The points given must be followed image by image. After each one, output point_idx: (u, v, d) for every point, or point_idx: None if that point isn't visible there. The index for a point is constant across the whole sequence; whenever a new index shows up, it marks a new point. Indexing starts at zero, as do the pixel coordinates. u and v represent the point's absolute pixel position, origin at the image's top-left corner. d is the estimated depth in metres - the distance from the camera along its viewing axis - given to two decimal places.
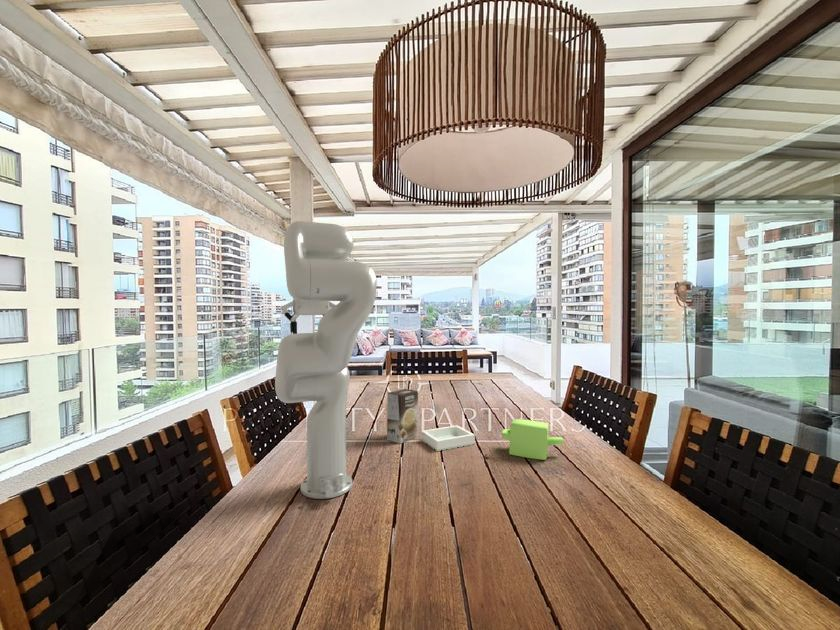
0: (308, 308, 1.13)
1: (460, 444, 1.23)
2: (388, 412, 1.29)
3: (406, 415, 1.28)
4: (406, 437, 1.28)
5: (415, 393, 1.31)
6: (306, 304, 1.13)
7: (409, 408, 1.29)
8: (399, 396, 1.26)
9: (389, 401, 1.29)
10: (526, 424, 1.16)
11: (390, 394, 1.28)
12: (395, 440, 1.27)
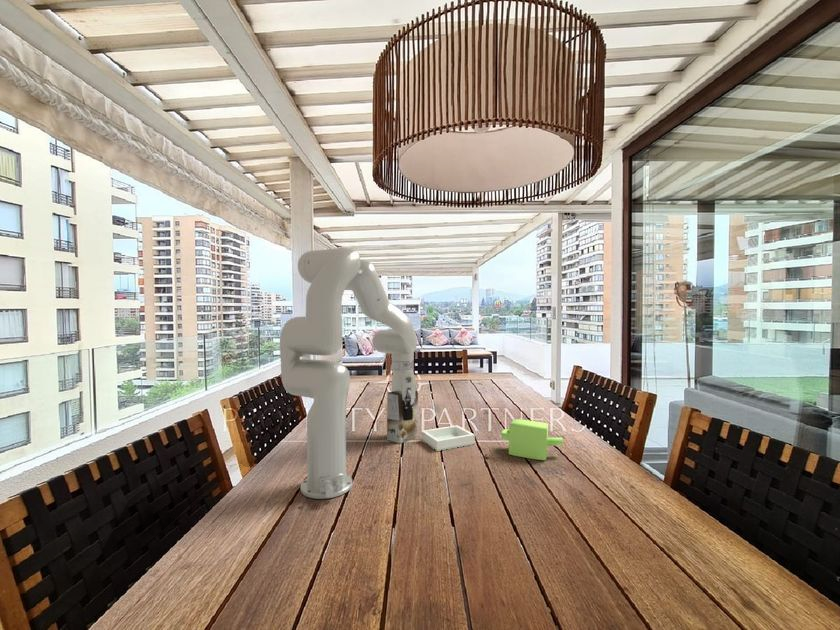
0: None
1: (460, 444, 1.23)
2: (388, 412, 1.29)
3: None
4: (406, 437, 1.28)
5: (415, 393, 1.31)
6: None
7: None
8: (399, 396, 1.26)
9: (389, 401, 1.29)
10: (525, 424, 1.16)
11: (390, 394, 1.28)
12: (395, 440, 1.27)
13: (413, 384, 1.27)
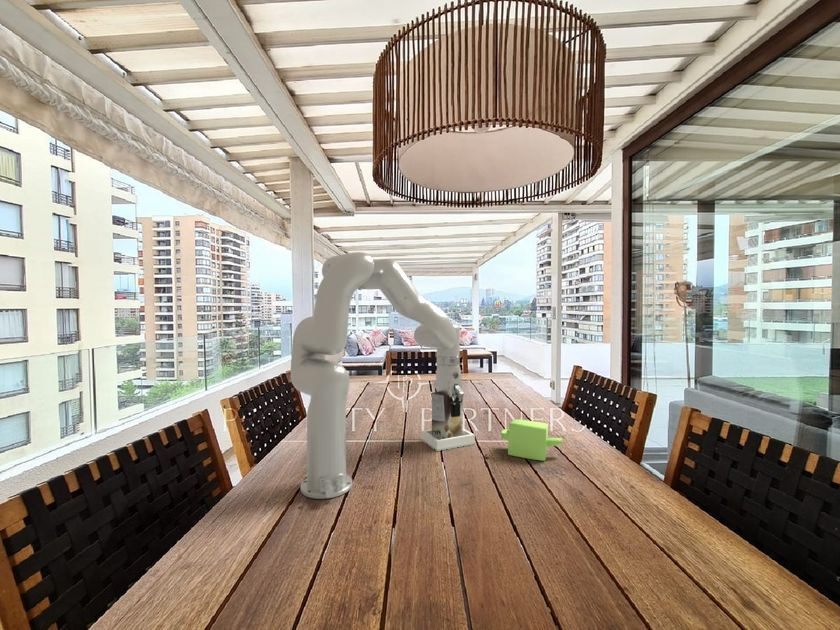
0: None
1: (460, 444, 1.23)
2: (433, 413, 1.25)
3: None
4: None
5: None
6: None
7: None
8: (445, 396, 1.22)
9: (434, 401, 1.25)
10: (525, 424, 1.16)
11: (435, 394, 1.25)
12: None
13: (460, 380, 1.23)
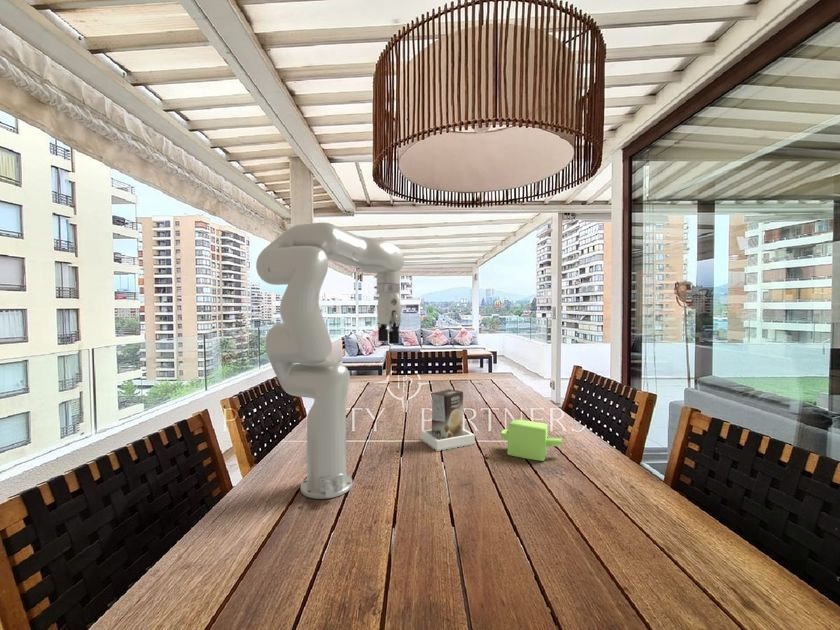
0: None
1: (460, 444, 1.23)
2: (433, 413, 1.25)
3: (452, 416, 1.24)
4: None
5: (460, 394, 1.27)
6: None
7: (455, 409, 1.25)
8: (445, 397, 1.22)
9: (434, 402, 1.25)
10: (524, 425, 1.16)
11: (435, 394, 1.25)
12: None
13: (399, 307, 1.22)
